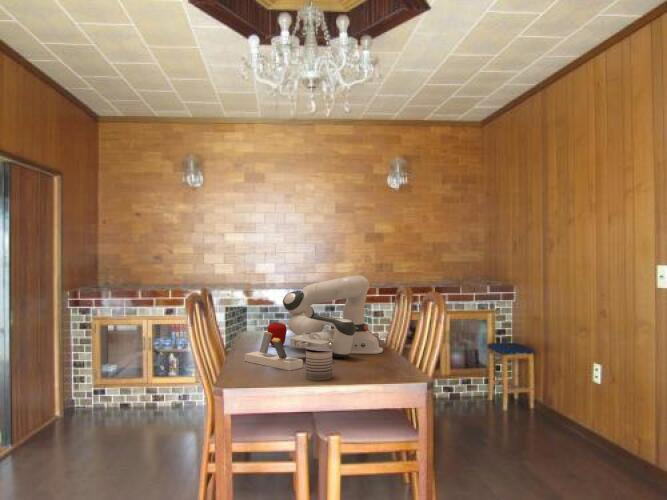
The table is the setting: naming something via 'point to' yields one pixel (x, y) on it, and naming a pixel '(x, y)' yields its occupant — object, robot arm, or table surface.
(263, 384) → the table surface
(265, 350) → the grey rocker
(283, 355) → the black rocker
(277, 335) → the red rounded lump
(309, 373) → the can
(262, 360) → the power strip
